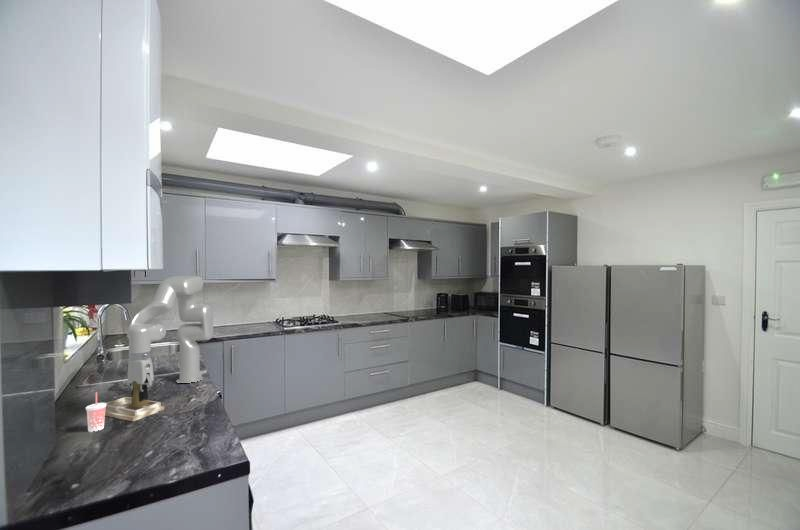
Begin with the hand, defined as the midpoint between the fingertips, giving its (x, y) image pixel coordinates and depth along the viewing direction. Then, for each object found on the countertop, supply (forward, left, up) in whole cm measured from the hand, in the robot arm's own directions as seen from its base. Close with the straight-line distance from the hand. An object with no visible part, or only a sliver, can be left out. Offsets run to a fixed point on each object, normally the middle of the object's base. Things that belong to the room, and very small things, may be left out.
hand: (139, 399), depth 151 cm
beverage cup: (+16, 0, -6) cm, 17 cm away
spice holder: (0, -6, -6) cm, 8 cm away
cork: (0, 0, -2) cm, 2 cm away
